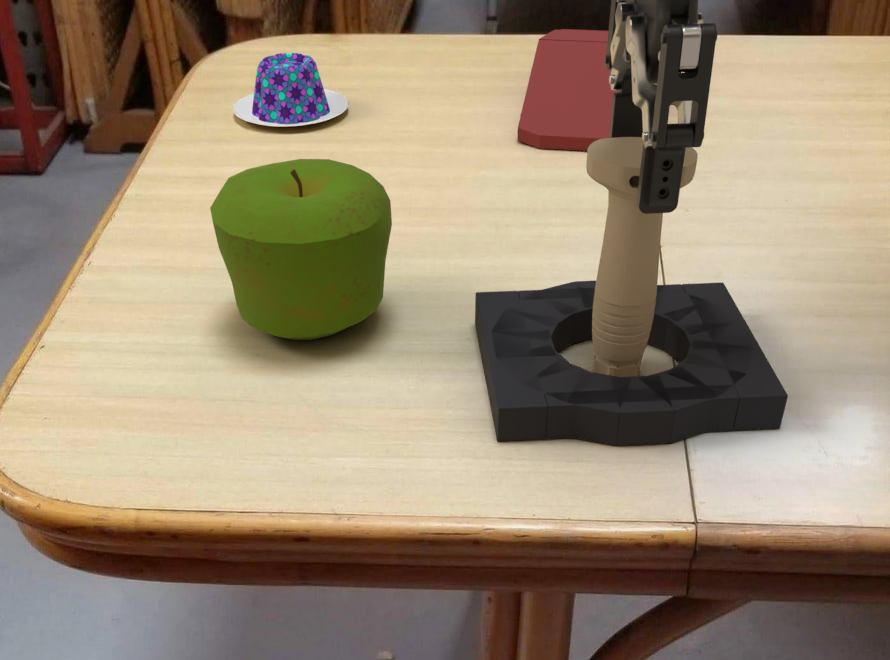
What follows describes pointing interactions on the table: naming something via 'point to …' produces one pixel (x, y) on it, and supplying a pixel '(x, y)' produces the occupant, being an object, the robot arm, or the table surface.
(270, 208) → the apple
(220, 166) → the table surface
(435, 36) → the table surface
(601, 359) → the handle
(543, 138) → the red chamfered slab
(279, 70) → the pudding
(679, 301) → the black plate with hole
